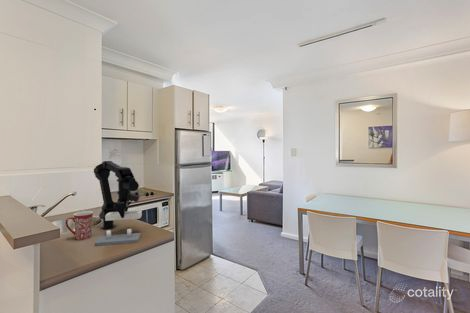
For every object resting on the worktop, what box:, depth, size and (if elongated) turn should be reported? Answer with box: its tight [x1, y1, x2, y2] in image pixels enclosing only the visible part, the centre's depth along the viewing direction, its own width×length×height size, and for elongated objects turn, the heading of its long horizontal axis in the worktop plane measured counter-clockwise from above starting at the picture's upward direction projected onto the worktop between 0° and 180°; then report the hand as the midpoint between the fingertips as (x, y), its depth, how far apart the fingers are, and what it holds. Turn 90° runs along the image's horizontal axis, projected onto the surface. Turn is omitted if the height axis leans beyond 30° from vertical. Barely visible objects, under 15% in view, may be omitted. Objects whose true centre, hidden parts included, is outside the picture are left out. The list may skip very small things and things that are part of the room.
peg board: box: [94, 228, 142, 247], centre depth 120 cm, size 10×20×6 cm, turn 104°
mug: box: [65, 210, 94, 241], centre depth 123 cm, size 13×9×14 cm
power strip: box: [105, 210, 143, 221], centre depth 130 cm, size 6×18×3 cm, turn 104°
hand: (124, 216), depth 130 cm, fingers closed on power strip, 6 cm apart
